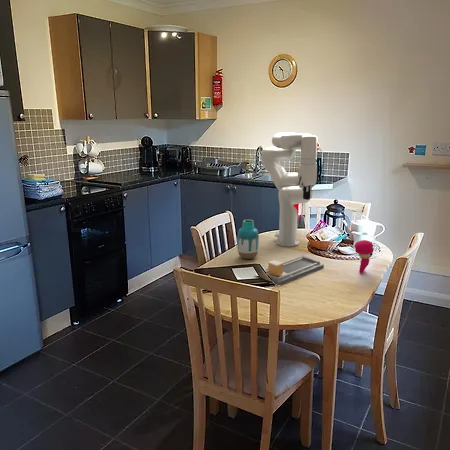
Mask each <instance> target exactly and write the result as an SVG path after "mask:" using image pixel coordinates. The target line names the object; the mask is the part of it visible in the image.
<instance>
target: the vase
mask: <svg viewBox="0 0 450 450" xmlns="http://www.w3.org/2000/svg"><path fill="white" fill-rule="evenodd" d="M241 226H242V227H240V228H239V229H238V231H237V238H236V239H237V252H238V255H239V257H240V258H242V259H244V260H251V259H255V258H256V257H257V256H258V254H259V248H260V247H259V246H260V235H259V230H258V229H257V228H256V227H255V222H254V220H253V219H244V220H243V221H242V225H241Z"/></svg>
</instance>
